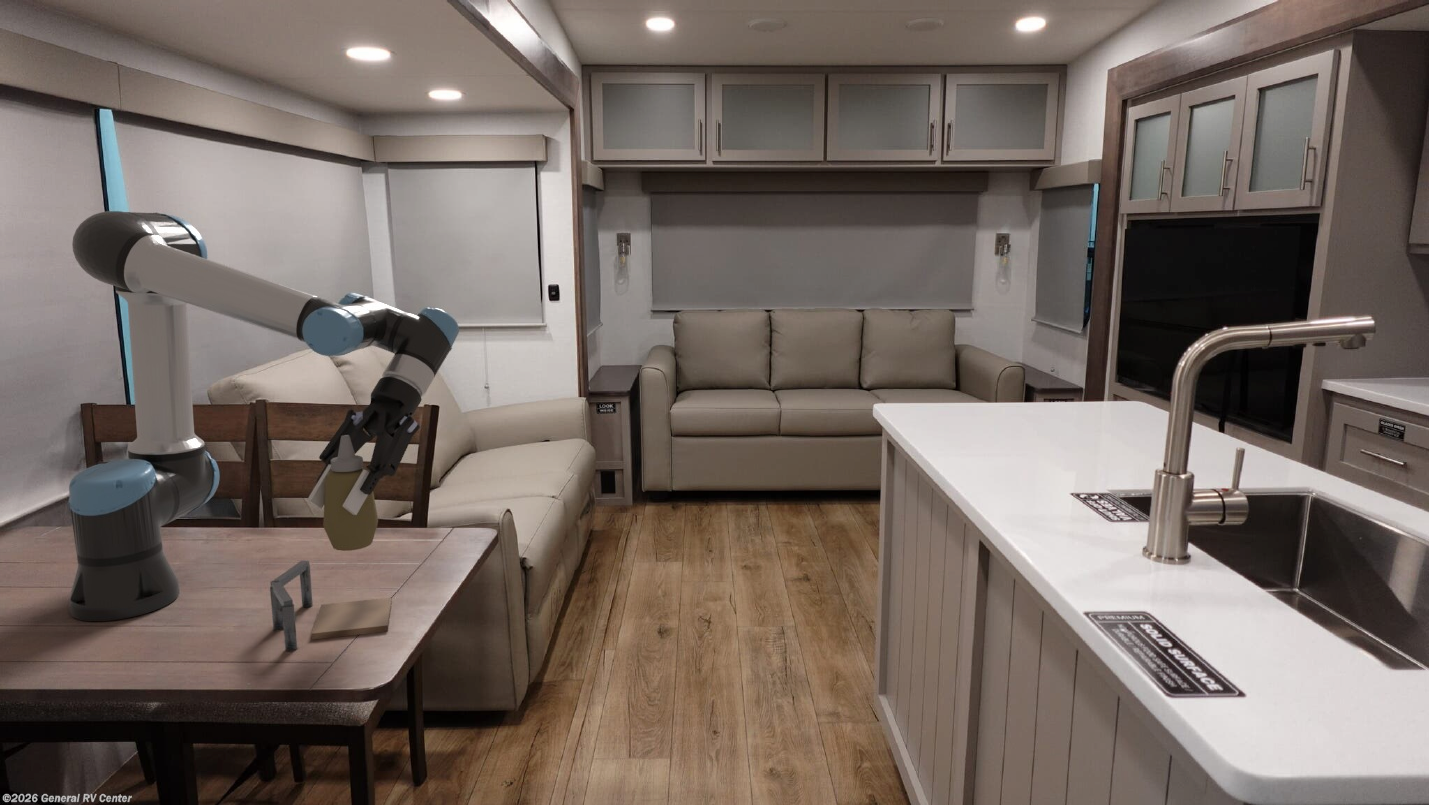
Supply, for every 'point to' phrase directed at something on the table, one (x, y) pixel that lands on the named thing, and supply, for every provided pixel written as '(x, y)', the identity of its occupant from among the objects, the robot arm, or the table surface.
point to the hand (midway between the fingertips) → (331, 507)
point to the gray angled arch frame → (289, 601)
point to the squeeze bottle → (338, 485)
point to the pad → (352, 618)
